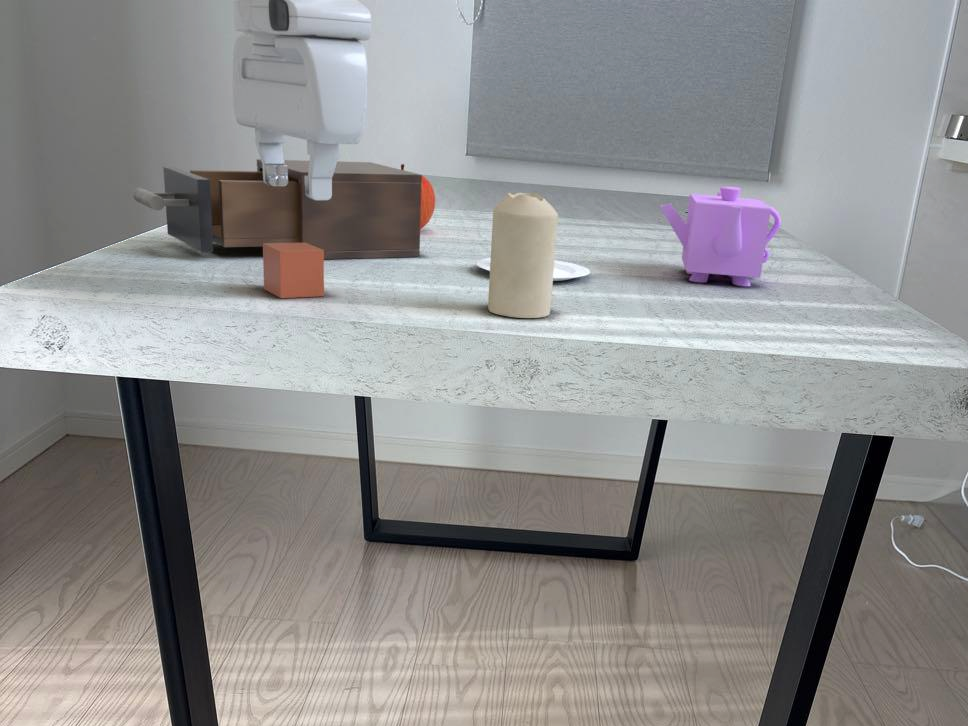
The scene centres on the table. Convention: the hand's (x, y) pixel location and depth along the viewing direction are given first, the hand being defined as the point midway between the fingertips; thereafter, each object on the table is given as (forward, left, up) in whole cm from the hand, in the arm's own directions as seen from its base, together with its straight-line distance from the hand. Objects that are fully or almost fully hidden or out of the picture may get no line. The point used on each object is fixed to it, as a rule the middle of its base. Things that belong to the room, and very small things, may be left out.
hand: (296, 192), depth 90 cm
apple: (+28, +34, -9) cm, 45 cm away
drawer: (+1, +22, -8) cm, 23 cm away
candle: (+16, -12, -9) cm, 22 cm away
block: (0, 0, -9) cm, 9 cm away
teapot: (+48, -2, -9) cm, 48 cm away
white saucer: (+28, +4, -9) cm, 29 cm away
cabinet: (+14, +22, -9) cm, 27 cm away
